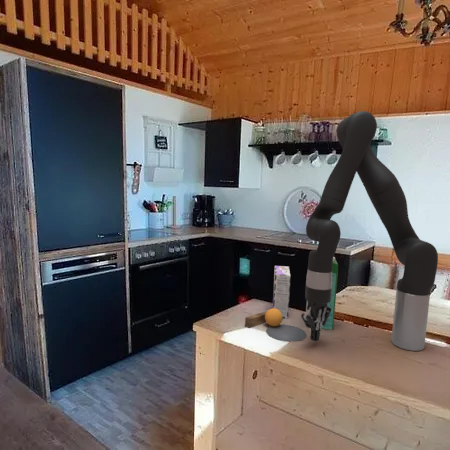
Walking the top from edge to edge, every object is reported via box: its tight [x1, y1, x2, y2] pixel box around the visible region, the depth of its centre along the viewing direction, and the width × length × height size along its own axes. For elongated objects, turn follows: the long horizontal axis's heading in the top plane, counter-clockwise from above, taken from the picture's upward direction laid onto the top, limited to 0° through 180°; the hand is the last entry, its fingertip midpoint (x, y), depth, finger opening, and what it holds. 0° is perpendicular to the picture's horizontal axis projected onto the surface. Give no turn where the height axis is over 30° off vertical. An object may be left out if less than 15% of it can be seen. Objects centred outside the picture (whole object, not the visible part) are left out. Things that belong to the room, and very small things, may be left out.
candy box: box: [272, 265, 291, 319], centre depth 136 cm, size 14×6×16 cm, turn 172°
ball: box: [265, 307, 284, 326], centre depth 123 cm, size 6×6×6 cm
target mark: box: [265, 323, 307, 342], centre depth 118 cm, size 13×13×1 cm
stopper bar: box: [244, 310, 268, 329], centre depth 126 cm, size 14×2×3 cm, turn 132°
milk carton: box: [305, 250, 339, 331], centre depth 125 cm, size 9×9×25 cm
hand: (314, 340), depth 109 cm, fingers closed
